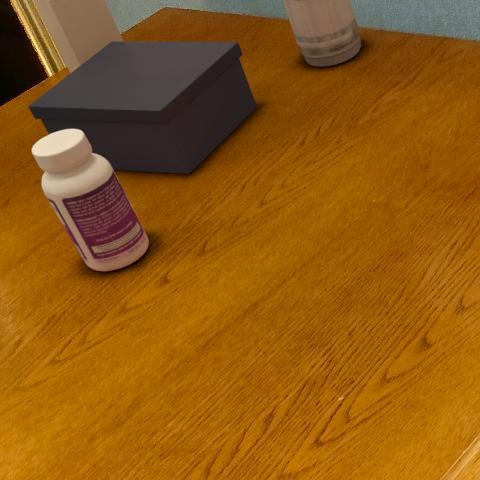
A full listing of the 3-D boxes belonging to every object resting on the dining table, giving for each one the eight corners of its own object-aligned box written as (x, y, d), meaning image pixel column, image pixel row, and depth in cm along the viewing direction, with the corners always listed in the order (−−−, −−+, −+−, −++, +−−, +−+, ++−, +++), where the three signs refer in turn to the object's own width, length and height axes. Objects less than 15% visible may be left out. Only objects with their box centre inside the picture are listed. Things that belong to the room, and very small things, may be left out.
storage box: (61, 169, 93) (27, 106, 88) (139, 102, 100) (111, 41, 95) (190, 176, 88) (160, 110, 83) (261, 105, 95) (238, 41, 90)
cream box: (79, 92, 104) (28, -10, 96) (122, 72, 106) (75, -30, 98) (99, 104, 101) (48, 0, 94) (142, 83, 103) (96, -21, 95)
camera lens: (366, 35, 102) (343, -48, 96) (360, 62, 98) (336, -23, 92) (307, 45, 103) (280, -37, 97) (298, 72, 99) (270, -12, 93)
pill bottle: (163, 236, 82) (107, 122, 74) (130, 274, 78) (68, 160, 71) (108, 234, 83) (48, 123, 76) (73, 272, 80) (7, 160, 73)
